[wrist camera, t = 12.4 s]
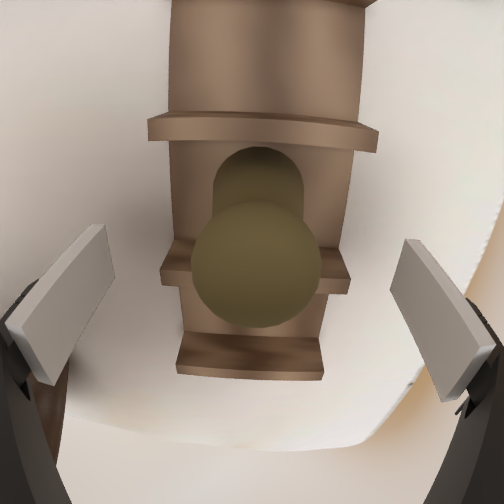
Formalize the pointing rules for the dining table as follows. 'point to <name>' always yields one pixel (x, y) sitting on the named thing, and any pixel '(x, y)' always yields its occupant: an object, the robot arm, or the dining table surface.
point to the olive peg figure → (256, 242)
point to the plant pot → (51, 408)
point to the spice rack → (261, 135)
